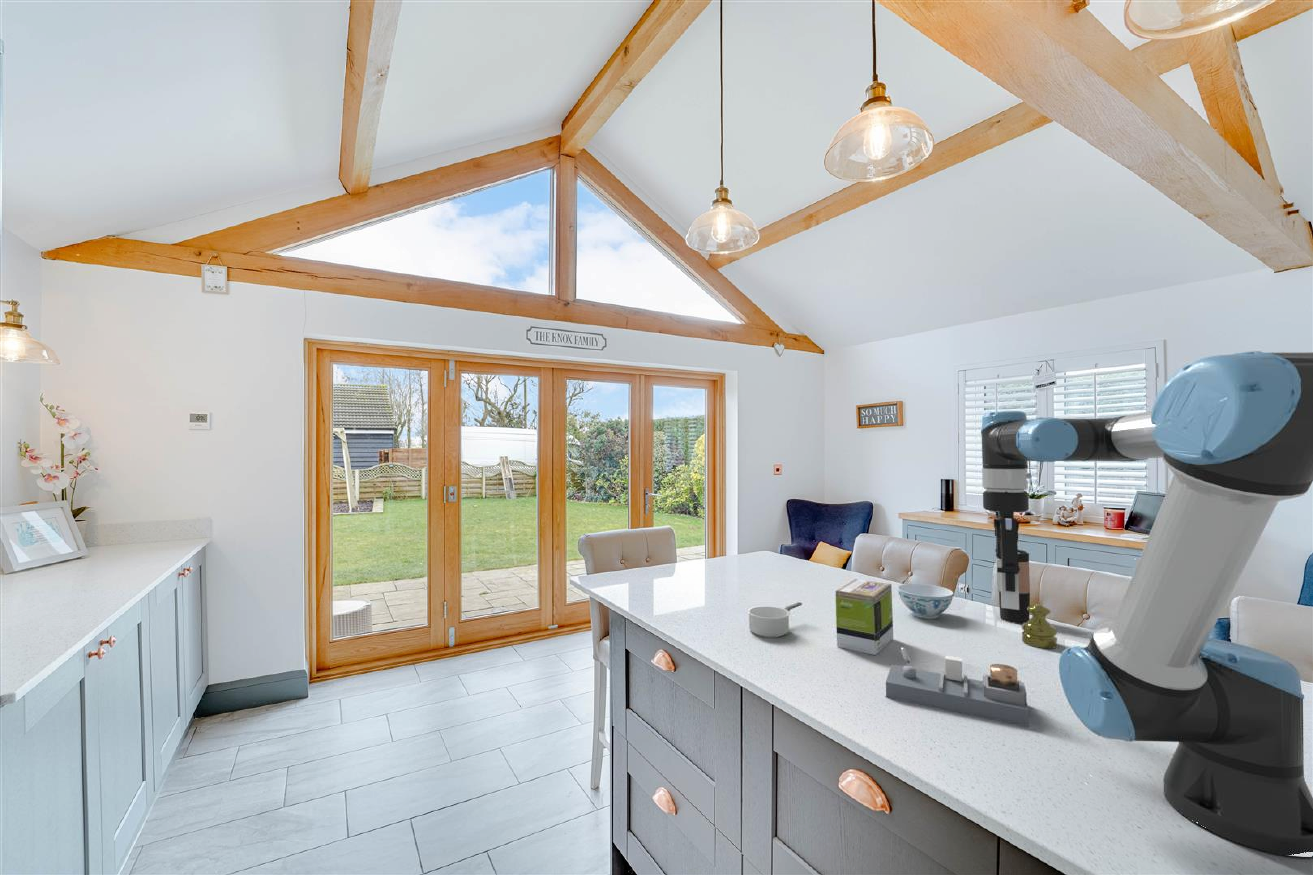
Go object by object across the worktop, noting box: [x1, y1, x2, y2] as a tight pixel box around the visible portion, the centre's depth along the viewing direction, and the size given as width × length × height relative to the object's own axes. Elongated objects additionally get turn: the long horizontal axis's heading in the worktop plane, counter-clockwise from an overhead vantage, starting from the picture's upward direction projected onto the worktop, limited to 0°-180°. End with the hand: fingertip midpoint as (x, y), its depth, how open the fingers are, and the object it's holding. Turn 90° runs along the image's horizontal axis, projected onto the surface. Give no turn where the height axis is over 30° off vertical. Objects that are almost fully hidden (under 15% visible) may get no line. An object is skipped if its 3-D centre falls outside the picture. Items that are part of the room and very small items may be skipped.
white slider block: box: [944, 655, 963, 681], centre depth 111 cm, size 2×3×4 cm, turn 60°
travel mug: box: [998, 549, 1031, 624], centre depth 159 cm, size 8×8×20 cm
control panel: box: [885, 664, 1030, 727], centre depth 108 cm, size 10×24×5 cm, turn 60°
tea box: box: [835, 578, 894, 656], centre depth 140 cm, size 15×10×15 cm, turn 141°
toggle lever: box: [900, 647, 911, 665], centre depth 113 cm, size 1×1×3 cm
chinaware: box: [897, 583, 954, 620], centre depth 163 cm, size 15×15×8 cm
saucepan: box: [747, 601, 803, 638], centre depth 152 cm, size 12×20×6 cm, turn 129°
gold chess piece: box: [1021, 603, 1058, 650], centre depth 139 cm, size 7×8×10 cm
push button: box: [989, 663, 1018, 686], centre depth 104 cm, size 4×4×2 cm
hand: (1007, 599), depth 106 cm, fingers open, 13 cm apart
